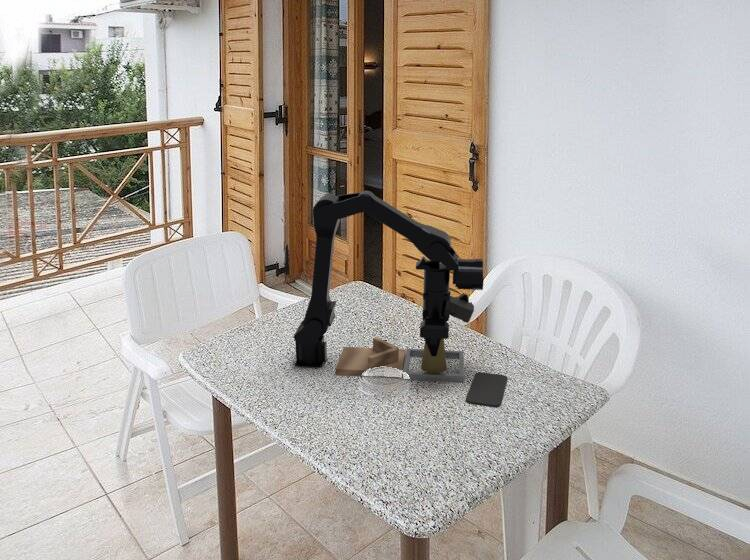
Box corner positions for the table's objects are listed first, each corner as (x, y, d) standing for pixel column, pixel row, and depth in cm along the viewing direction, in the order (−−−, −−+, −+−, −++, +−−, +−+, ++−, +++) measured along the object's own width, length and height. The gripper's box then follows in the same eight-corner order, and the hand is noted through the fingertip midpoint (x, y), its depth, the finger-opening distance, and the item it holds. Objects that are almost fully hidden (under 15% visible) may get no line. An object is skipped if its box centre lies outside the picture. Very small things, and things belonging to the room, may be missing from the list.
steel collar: (402, 379, 161) (402, 373, 160) (406, 354, 174) (406, 348, 173) (463, 382, 159) (464, 376, 159) (463, 356, 172) (463, 351, 172)
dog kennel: (335, 374, 163) (335, 356, 161) (343, 352, 175) (343, 335, 173) (401, 378, 161) (402, 359, 160) (405, 355, 173) (405, 338, 172)
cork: (445, 374, 163) (447, 329, 160) (419, 372, 164) (420, 327, 161) (448, 363, 169) (449, 319, 165) (422, 361, 170) (423, 317, 166)
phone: (508, 375, 162) (500, 405, 148) (508, 378, 162) (500, 409, 149) (475, 371, 164) (464, 400, 150) (475, 374, 164) (464, 404, 151)
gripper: (473, 303, 151) (470, 371, 156) (471, 276, 168) (468, 337, 173) (420, 301, 152) (418, 368, 157) (424, 274, 169) (422, 335, 174)
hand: (434, 351), depth 165 cm, fingers closed on cork, 4 cm apart
